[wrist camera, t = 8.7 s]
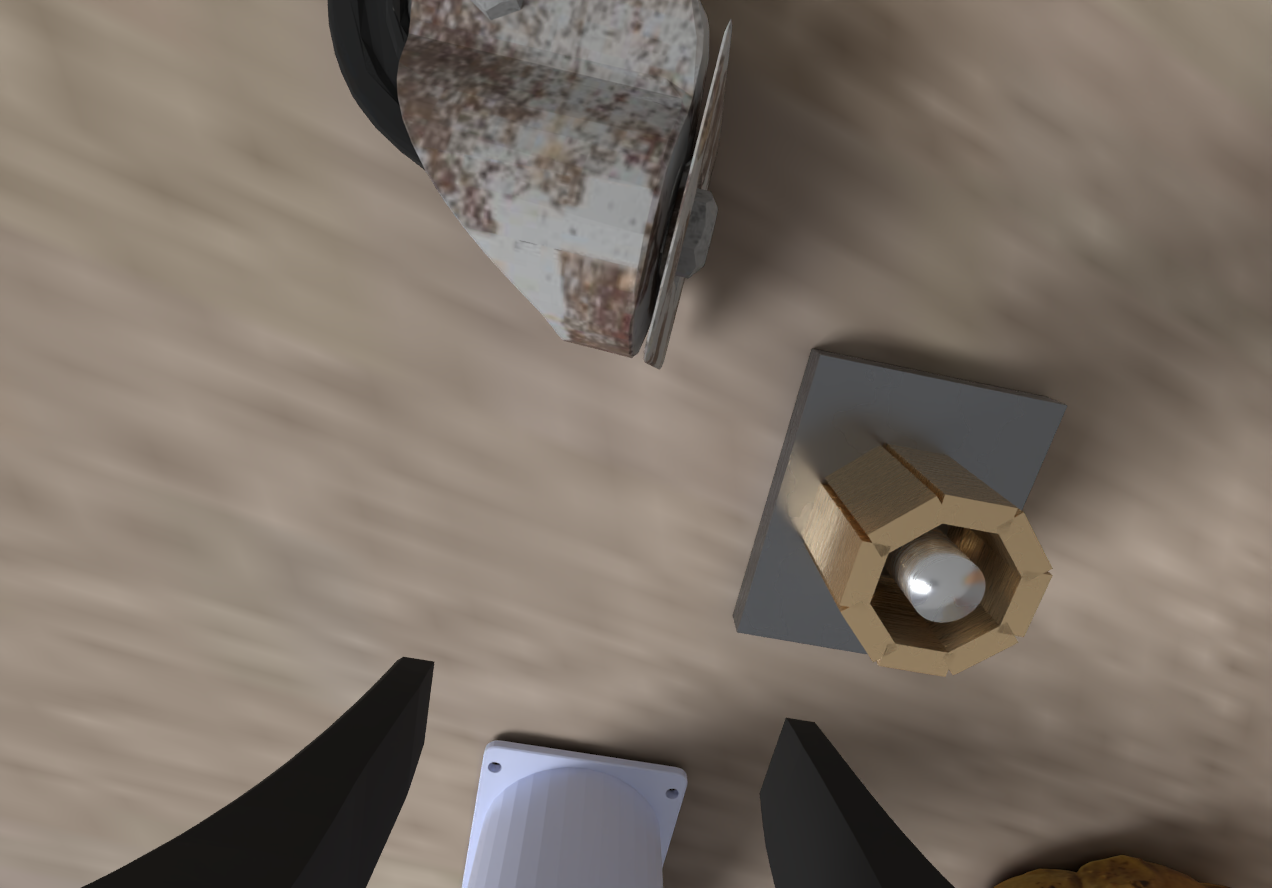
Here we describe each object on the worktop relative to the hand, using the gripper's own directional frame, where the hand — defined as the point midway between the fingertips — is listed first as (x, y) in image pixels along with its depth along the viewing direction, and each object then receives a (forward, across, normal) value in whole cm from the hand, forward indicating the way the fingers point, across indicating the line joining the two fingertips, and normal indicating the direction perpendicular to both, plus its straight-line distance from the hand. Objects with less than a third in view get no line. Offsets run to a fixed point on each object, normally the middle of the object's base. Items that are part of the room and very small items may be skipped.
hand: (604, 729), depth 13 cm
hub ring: (+9, -9, -2) cm, 13 cm away
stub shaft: (+10, -9, -2) cm, 14 cm away
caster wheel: (+10, +4, -12) cm, 16 cm away
